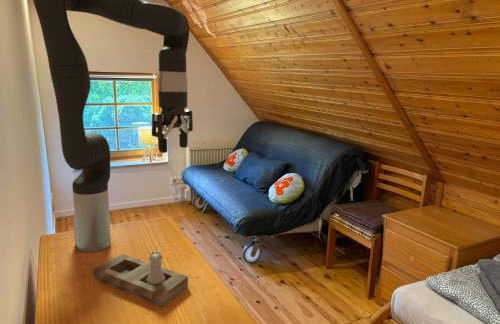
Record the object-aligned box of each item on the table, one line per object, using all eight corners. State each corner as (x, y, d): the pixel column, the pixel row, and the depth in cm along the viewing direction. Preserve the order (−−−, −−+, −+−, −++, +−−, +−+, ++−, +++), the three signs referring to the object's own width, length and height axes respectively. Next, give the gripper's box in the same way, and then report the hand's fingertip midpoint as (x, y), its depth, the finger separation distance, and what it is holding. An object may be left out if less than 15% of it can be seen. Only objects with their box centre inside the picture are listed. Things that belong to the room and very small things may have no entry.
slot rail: (94, 279, 91) (93, 268, 90) (122, 263, 99) (121, 253, 98) (163, 307, 81) (162, 295, 80) (187, 287, 89) (187, 276, 88)
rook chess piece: (161, 290, 85) (160, 259, 83) (143, 288, 86) (142, 257, 84) (168, 280, 89) (168, 250, 87) (151, 278, 90) (151, 248, 88)
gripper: (178, 88, 104) (179, 144, 108) (142, 89, 92) (144, 152, 96) (200, 89, 101) (200, 147, 105) (166, 90, 88) (167, 156, 92)
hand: (173, 149), depth 100 cm, fingers open, 8 cm apart
